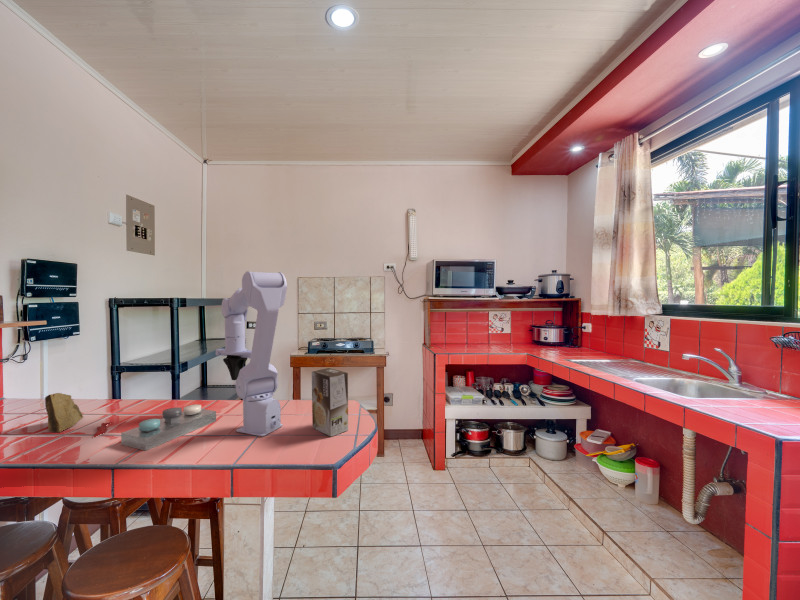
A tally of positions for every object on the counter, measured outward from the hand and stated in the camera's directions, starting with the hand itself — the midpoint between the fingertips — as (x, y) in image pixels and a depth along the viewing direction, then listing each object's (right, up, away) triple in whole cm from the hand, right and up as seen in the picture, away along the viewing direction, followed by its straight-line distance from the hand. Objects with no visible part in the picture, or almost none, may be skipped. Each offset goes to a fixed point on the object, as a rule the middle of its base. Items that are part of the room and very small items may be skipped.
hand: (235, 379), depth 110 cm
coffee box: (+32, -11, -13) cm, 37 cm away
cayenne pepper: (-31, -12, -14) cm, 35 cm away
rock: (-44, -11, -10) cm, 46 cm away
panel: (-10, -11, -15) cm, 21 cm away
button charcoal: (-10, -9, -15) cm, 20 cm away
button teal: (-12, -10, -21) cm, 26 cm away
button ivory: (-8, -9, -10) cm, 16 cm away
